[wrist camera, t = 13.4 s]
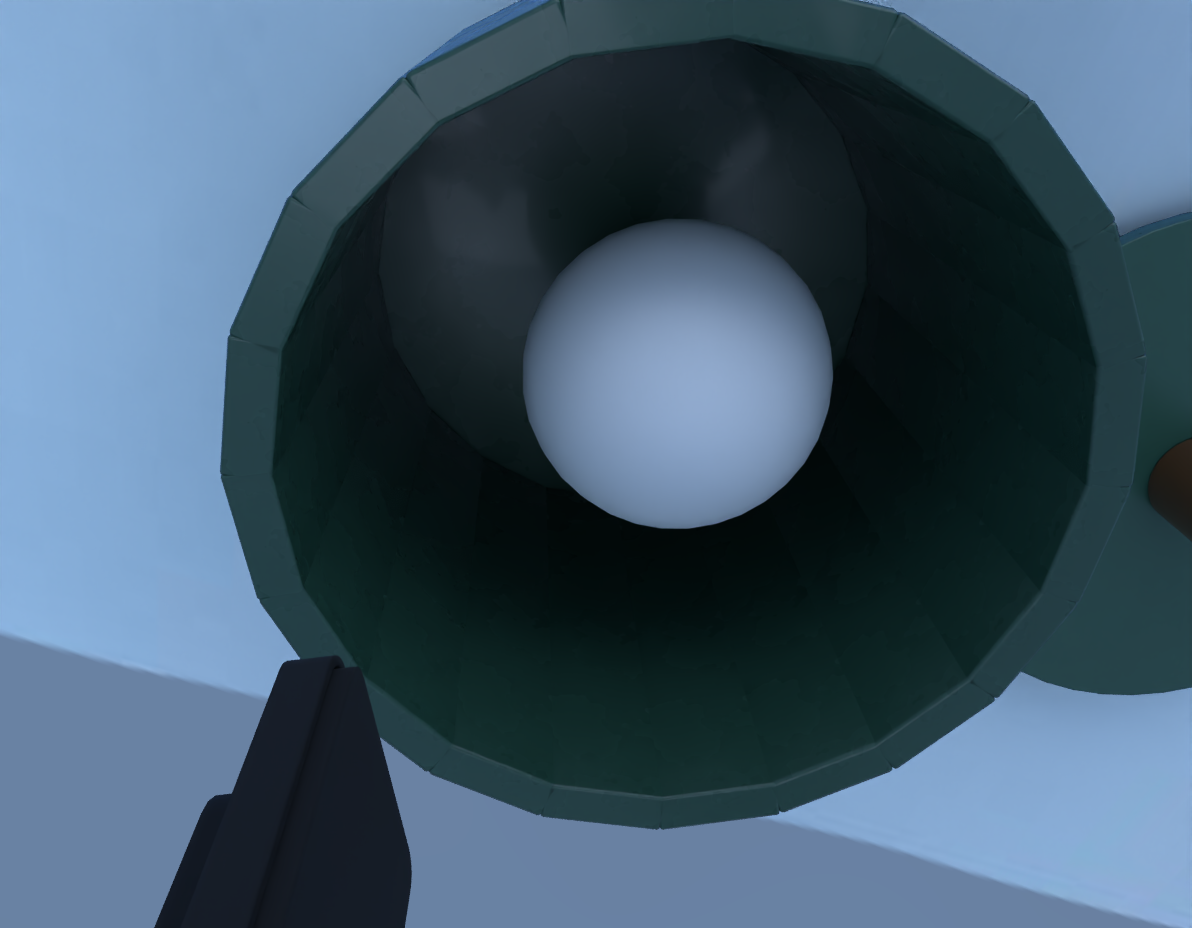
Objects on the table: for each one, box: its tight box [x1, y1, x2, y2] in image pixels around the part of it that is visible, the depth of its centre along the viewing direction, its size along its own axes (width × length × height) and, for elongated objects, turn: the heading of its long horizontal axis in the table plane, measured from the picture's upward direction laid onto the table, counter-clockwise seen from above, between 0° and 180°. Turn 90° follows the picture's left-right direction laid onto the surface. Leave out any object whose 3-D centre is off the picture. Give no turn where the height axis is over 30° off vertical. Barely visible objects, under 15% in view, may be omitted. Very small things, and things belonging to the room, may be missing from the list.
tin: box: [220, 0, 1147, 830], centre depth 23 cm, size 15×15×13 cm
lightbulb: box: [523, 219, 833, 529], centre depth 23 cm, size 6×6×11 cm
